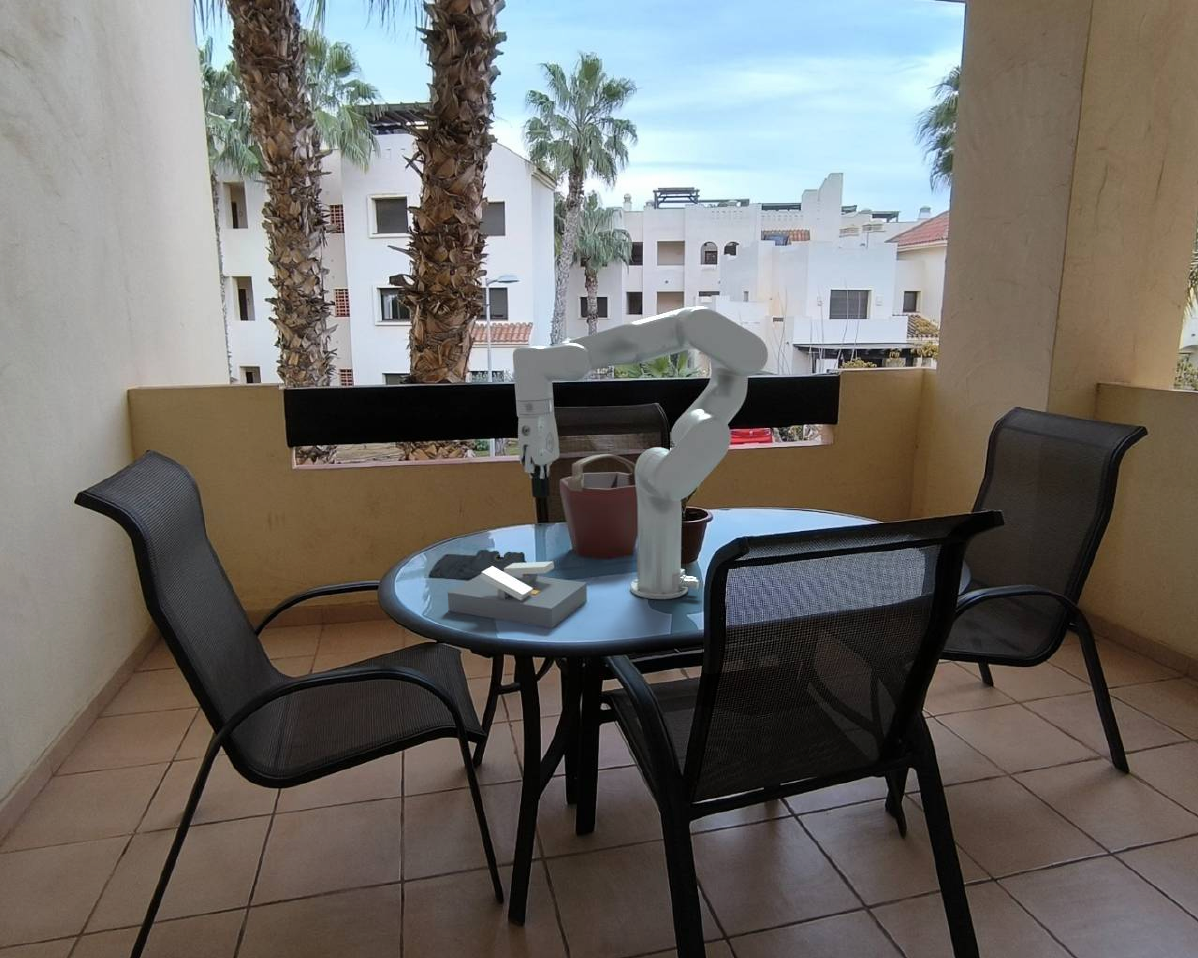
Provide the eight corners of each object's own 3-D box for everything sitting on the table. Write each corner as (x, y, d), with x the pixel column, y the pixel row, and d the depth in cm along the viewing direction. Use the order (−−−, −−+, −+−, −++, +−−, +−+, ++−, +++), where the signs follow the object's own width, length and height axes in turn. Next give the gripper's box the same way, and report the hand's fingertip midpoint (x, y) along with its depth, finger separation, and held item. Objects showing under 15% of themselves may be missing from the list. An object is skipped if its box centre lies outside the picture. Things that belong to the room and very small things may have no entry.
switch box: (586, 600, 159) (586, 575, 158) (552, 628, 145) (551, 600, 144) (490, 586, 169) (489, 562, 168) (448, 610, 154) (447, 584, 153)
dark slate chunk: (448, 560, 190) (447, 542, 189) (532, 564, 186) (531, 546, 185) (423, 579, 175) (422, 560, 174) (513, 585, 171) (513, 565, 170)
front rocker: (530, 594, 152) (532, 588, 151) (521, 600, 148) (523, 594, 147) (490, 571, 155) (492, 565, 154) (480, 577, 151) (481, 571, 150)
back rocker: (554, 567, 160) (553, 561, 160) (545, 573, 156) (544, 566, 156) (514, 569, 164) (513, 563, 164) (504, 574, 160) (503, 568, 160)
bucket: (582, 568, 181) (580, 466, 176) (542, 546, 200) (539, 453, 195) (665, 552, 193) (666, 456, 188) (619, 533, 212) (619, 445, 207)
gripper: (535, 412, 143) (542, 506, 147) (567, 403, 156) (572, 489, 160) (501, 413, 146) (508, 504, 149) (534, 403, 159) (540, 487, 163)
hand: (541, 496), depth 155 cm, fingers closed
